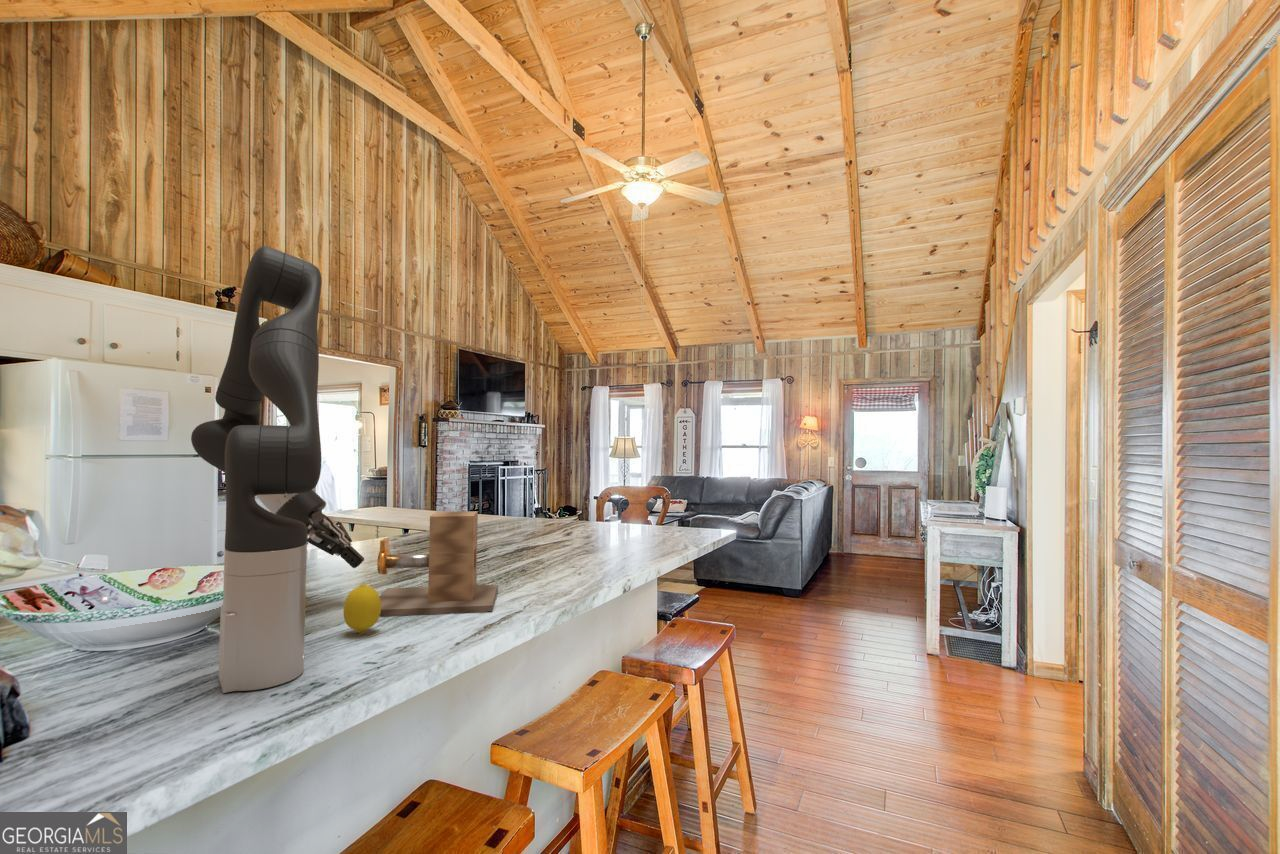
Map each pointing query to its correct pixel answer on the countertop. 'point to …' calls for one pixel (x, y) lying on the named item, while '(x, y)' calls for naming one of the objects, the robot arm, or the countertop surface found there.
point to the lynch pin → (398, 559)
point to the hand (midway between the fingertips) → (359, 564)
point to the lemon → (362, 608)
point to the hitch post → (446, 572)
